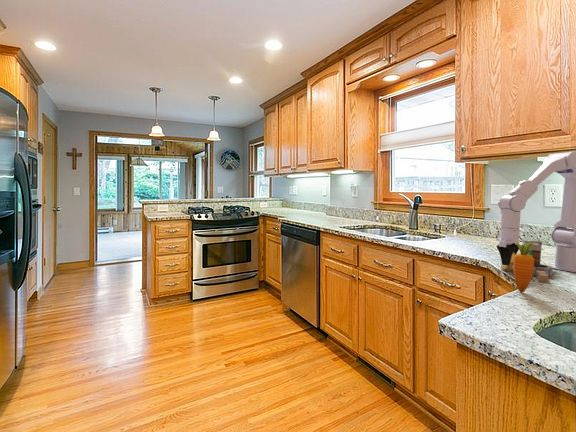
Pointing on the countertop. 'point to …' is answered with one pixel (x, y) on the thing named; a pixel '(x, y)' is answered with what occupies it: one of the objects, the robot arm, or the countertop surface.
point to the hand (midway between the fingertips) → (507, 264)
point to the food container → (535, 250)
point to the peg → (510, 267)
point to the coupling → (542, 272)
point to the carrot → (523, 267)
